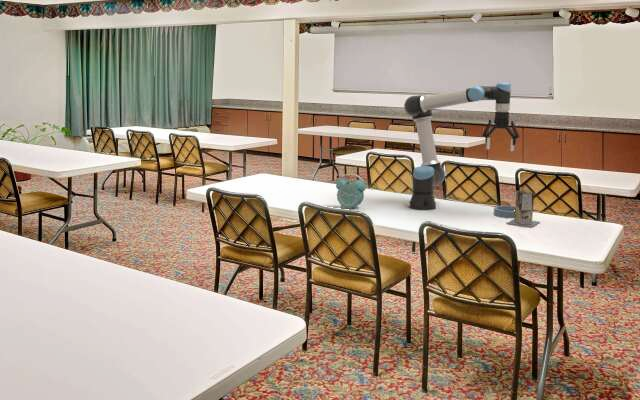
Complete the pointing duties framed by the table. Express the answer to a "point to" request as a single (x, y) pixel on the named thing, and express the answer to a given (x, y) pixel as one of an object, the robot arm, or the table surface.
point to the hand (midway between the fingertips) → (499, 150)
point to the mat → (523, 224)
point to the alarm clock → (350, 192)
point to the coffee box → (524, 207)
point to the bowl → (504, 211)
